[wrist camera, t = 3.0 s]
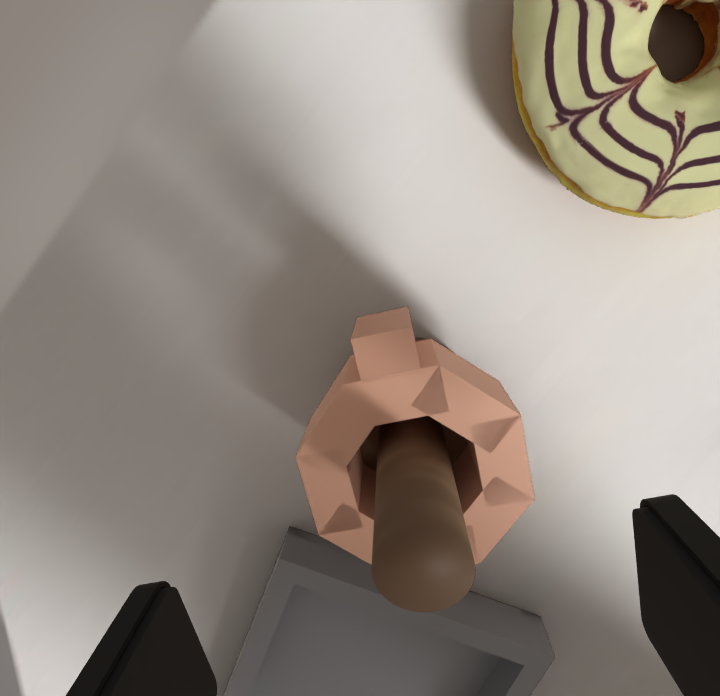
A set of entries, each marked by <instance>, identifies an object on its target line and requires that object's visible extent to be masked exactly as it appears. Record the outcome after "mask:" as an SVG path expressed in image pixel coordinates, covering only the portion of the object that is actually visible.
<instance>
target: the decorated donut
mask: <svg viewBox="0 0 720 696" xmlns="http://www.w3.org/2000/svg"><path fill="white" fill-rule="evenodd" d="M666 4H672V5H674V8H675V9H683V11H686V12H687V13H690V14H692V16H694V17H693V18H694V20H695V21H697V22H698V24H699V26H698V28H699V27H700V29H701V32H702V34H703V36H704V46H705V50H704V55H703V57H702V60H701V61H700V63H699V66H698V67H697V69H695V70H694V71H693V73H692V74H691V75H688V76H686V77H685V78H684V79H680V80H678V81H675V82H670V81H668V80H666V79H665V78H664V77H663V76H662V75H661V73H660V70H659V68H658V66H657V64H656V62H655V61H654V59H653V58H652V57H651V55H650V53H649V51H648V39H649V34H650V30H651V26H652V23H653V21H654V19H655V16H656V14H657V13H658V11H659V9H660V7H661V6H662V5H666ZM513 8H514V18H513V27H512V74H513V81H514V88H515V94H516V100H517V104H518V110H519V113H520V115H521V118H522V122H523V124H524V126H525V129H526V131H527V133H528V135H529V138H530V139H531V141H532V142H533V144H534V145H535V147H536V149H537V151H538V153H539V154H540V156H541V157H542V159H543V161H544V162H545V164H546V166H547V167H548V169H549V170H550V171H551V172H552V173H553V174H554V175H555V176H557V178H558V179H559V180H560V183H562V185H564V186H565V187H566V188H567V190H570V191H571V192H572V193H574V194H575V195H577V196H578V197H580V198H582V199H583V200H585V201H587V202H589V203H591V204H593V205H596V206H598V207H601V208H603V209H607V210H610V211H612V212H616V213H620V214H624V215H629V216H634V217H642V218H652V219H658V218H686V217H691V216H694V215H698V214H701V213H703V212H708V211H711V210H715V209H718V208H720V0H514V2H513Z"/></svg>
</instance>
